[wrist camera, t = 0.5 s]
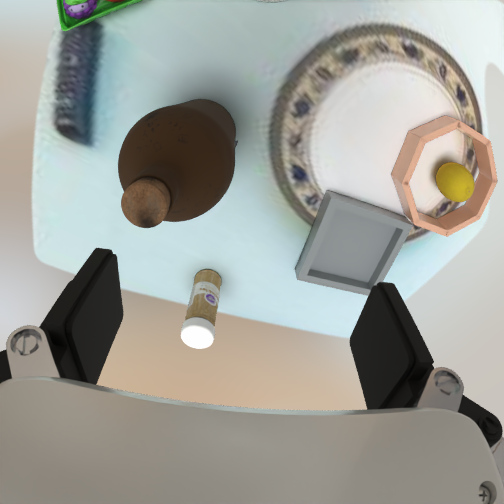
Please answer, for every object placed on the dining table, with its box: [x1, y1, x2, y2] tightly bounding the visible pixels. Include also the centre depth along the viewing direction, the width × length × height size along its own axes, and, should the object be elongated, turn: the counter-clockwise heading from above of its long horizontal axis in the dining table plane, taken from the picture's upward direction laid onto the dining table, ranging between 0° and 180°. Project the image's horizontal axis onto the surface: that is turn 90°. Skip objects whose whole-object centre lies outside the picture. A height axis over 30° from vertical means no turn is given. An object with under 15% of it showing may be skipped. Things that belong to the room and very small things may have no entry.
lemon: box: [436, 162, 475, 202], centre depth 40 cm, size 6×6×8 cm
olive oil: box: [118, 99, 238, 228], centre depth 30 cm, size 11×11×25 cm
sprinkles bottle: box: [181, 270, 221, 349], centre depth 48 cm, size 5×5×13 cm
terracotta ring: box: [391, 116, 497, 237], centre depth 41 cm, size 17×17×4 cm
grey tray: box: [295, 190, 413, 296], centre depth 48 cm, size 14×14×3 cm
